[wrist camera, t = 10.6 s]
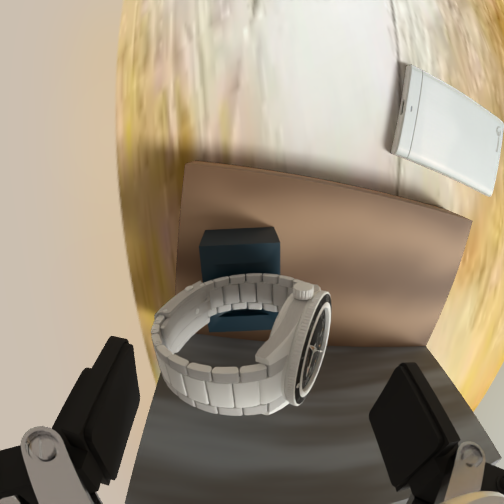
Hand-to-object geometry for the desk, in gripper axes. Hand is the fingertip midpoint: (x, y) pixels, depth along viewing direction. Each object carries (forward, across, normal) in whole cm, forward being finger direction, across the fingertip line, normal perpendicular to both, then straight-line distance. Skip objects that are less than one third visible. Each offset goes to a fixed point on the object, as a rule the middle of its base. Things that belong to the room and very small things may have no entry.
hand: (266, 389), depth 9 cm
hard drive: (+16, -16, -12) cm, 26 cm away
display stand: (+15, -6, +2) cm, 16 cm away
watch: (+11, +1, +1) cm, 11 cm away
